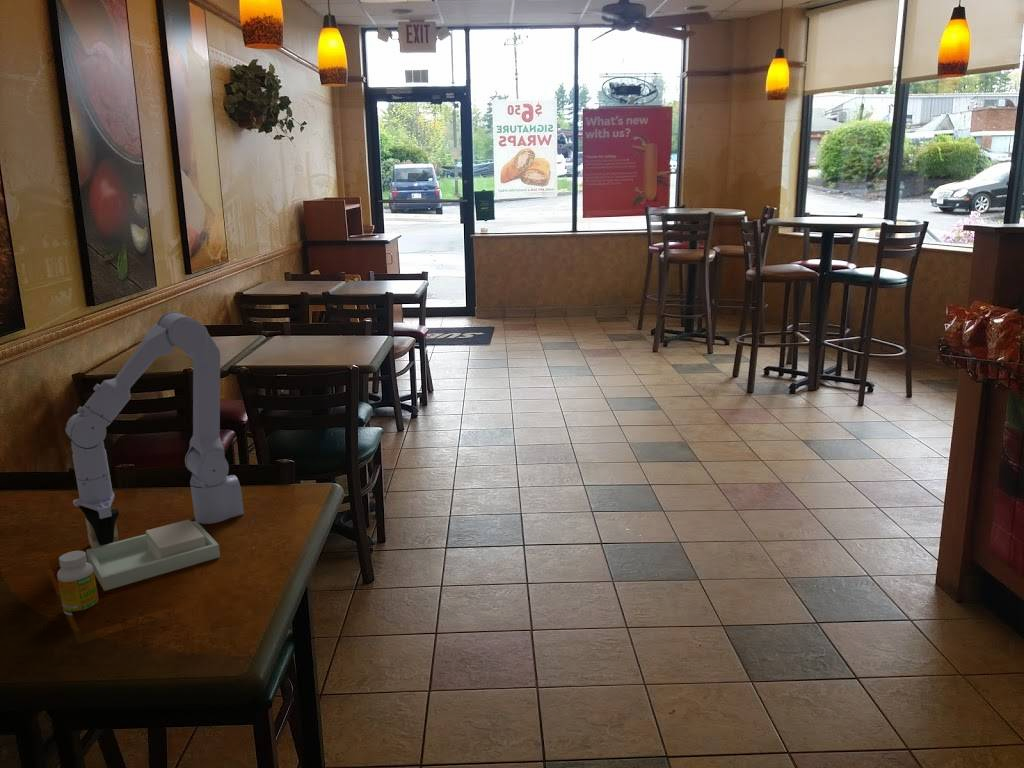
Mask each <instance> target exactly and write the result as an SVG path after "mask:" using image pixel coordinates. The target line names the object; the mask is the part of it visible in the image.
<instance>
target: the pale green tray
mask: <svg viewBox="0 0 1024 768" xmlns="http://www.w3.org/2000/svg"><path fill="white" fill-rule="evenodd" d="M191 522H192V523H193V524H194V525H195V527H196V528H197V529H198V530H199V531H200V532H201V533H202V534H203V535H204V536H205V543H206V546H205V547H202V548H198V549H195V550H191V551H187V552H184V553H180V554H177V555H173V556H170V557H166V558H163V559H159V560H156V559H155V558H154V556H153V555H152V554H151V552H150V551H149V549H148V542H147V536H146V533H145V534H142V535H141V534H140V535H137V536H133V537H129V538H125V539H123V540H122V539H121V540H119V541H117V542H113V543H110V544H106V545H102V546H98V547H94V548H91V547H90V548H88V549H85V553H86V557H87V562H88V563H90V564H91V565H92V566H93V569H94V575H95V578H96V579H97V580H98V583H99V584H100V586H101V588H102V589H103V591H104V592H107V591H110V590H112V589H116V588H119V587H123V586H127V585H129V584H133V583H137V582H139V581H143V580H146V579H150V578H153V577H157V576H160V575H163V574H166V573H167V574H168V573H171V572H174V571H177V570H180V569H181V570H182V569H184V568H188V567H191V566H195V565H197V564H200V563H201V564H202V563H204V562H208V561H211V560H215V559H219V558H221V554H220V553H221V552H220V545H219V542H217V541H216V540H215V539H214V538H213V537H212V536H211V535H210V534H209V533H208V532H207V531H206V529H204V527H203V525H201V523H198V522H197V521H196V520H194V521H191Z"/></svg>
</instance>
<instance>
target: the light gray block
mask: <svg viewBox="0 0 1024 768" xmlns="http://www.w3.org/2000/svg"><path fill="white" fill-rule="evenodd" d="M192 522H193V521H191V520H190V519H185V520H182V521H178V522H174V523H173V522H172V523H170V524H166V525H162V526H158V527H154V528H151V529H145V534H146V536H147V542H148V549H149V551H150V552H151V554H152V555H153V556H154V558H155V559H156V560H159V559H163V558H166V557H170V556H173V555H177V554H180V553H184V552H187V551H191V550H195V549H198V548H202V547H205V546H206V543H205V536H204V535H203V534H202V533H201V532H200V531H199V530H198V529H197V528H196V527H195V525H194V524H193V523H192Z"/></svg>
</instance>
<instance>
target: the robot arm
mask: <svg viewBox="0 0 1024 768" xmlns="http://www.w3.org/2000/svg"><path fill="white" fill-rule="evenodd" d="M173 347H175V348H178V349H180V350H182V351H183V352H184V353H185V354H186V355H187V356H188V357H190V359H192V374H193V375H192V401H193V402H192V409H193V410H192V435H191V438H190V440H189V448H188V451H187V453H186V455H185V458H184V463H185V464H184V465H185V467H186V468H187V470H188V472H190V473H191V477H190V480H189V485H190V492H191V499H192V507H193V514H194V519H195V520H194V521H197V522H198V523H199V524H203V525H204V524H205V525H207V524H208V525H209V524H217V523H220V522H223V521H226V520H228V519H231V518H235V517H238V516H242V515H245V510H244V504H243V503H244V502H243V494H242V487H241V485H240V481H239V479H238V477H237V475H235V474H230V475H228V474H229V470H230V467H229V463H228V460H227V459H226V456H225V448H224V445H223V442H222V439H221V433H220V432H221V351H220V348H219V347H218V346H217V344H216V342H215V341H214V339H213V338H212V337H211V335H210V334H209V332H208V329H207V327H206V326H205V325H203V324H202V323H201V322H199V321H198V320H197V319H195V318H193V317H190V316H186V315H184V314H183V313H181V312H179V311H168V312H165V313H163V315H161V316H160V317H159V318H158V321H157V322H156V323H154V324H153V325H152V326H151V327H150V328H149V329H148V330H147V332H146V334H145V336H144V337H143V339H142V340H141V341H140V343H139V344H138V345H137V347H136V348H135V350H134V351H133V352H132V354H131V355H130V356H129V358H128V359H127V361H126V362H125V363H124V364H123V366H122V367H121V369H120V370H119V371H118V373H117V374H116V376H115V377H113V378H111V379H104V380H103V381H102V382H101V383H100V384H99V383H96V384H95V385H94V387H93V388H92V389H93V390H94V392H93V393H92V394H91V396H90V397H89V398H88V400H86V402H85V403H84V405H83V406H80V405H79V407H78V408H77V413H75V414H73V415H72V416H70V417H69V418H68V420H67V422H66V426H65V429H64V431H65V434H66V436H67V437H68V438H69V439H71V441H70V444H71V446H70V447H71V451H72V455H71V457H72V462H73V467H74V472H75V478H76V485H77V490H78V496H79V498H77V499H73V501H72V504H73V505H74V507H78V508H79V509H80V510H81V511H82V513H83V514H84V518H85V517H86V519H87V520H88V521H89V522H90V524H91V525H92V527H93V529H94V531H95V534H96V537H97V540H98V542H99V544H100V546H102V545H106V544H110V543H113V538H114V527H115V522H116V523H117V520H118V517H119V515H120V510H119V509H118V508H113V509H112V508H111V507H112V504H113V502H114V500H115V492H114V491H113V487H112V486H113V485H112V481H111V479H112V478H111V474H110V468H109V462H108V455H107V450H106V448H105V443H104V440H105V439H106V436H107V427H108V426H110V425H111V424H112V422H113V421H114V420H115V419H116V418H117V416H118V415H119V413H121V411H122V410H123V408H124V407H125V406H126V405H127V403H128V402H129V401H130V400H131V399H132V398H131V397H132V396H131V388H132V387H133V386H134V385H135V384H136V382H137V381H138V379H140V378H141V376H142V375H143V374H144V373H145V372H146V371H147V370H148V368H149V367H150V366H151V365H152V364H153V363H154V362H155V360H157V358H158V357H162V356H165V355H169V354H170V355H171V354H174V353H175V352H176V350H175V349H174V348H173Z"/></svg>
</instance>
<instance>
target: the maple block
mask: <svg viewBox="0 0 1024 768" xmlns="http://www.w3.org/2000/svg"><path fill="white" fill-rule="evenodd" d="M84 519H85V527H86V531H87V537H88V543H89V546H90V549H91V548H94V547H98V546H100V544H99V542H98V540H97V537H96V534H95V531H94V529H93V527H92V525H91V524H90V522H89V521H88V520H87V519H86V517H85V516H84ZM117 541H120V539H119V533H118V527H117V521H116V522H115V527H114V538H113V542H117Z"/></svg>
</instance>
